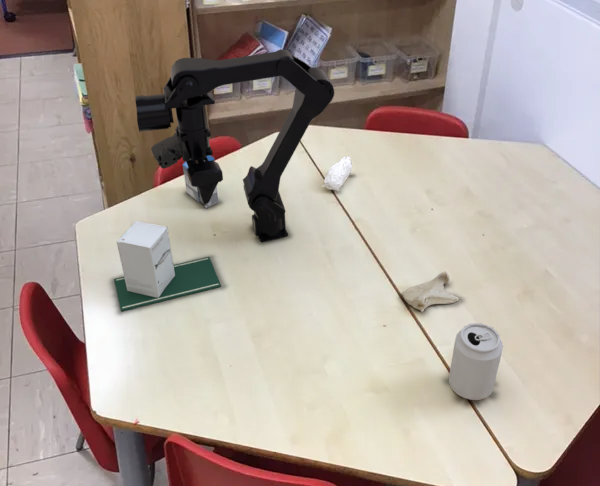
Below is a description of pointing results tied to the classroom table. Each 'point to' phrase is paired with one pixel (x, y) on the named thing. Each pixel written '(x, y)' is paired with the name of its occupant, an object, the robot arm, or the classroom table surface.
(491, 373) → the can
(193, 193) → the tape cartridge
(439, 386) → the classroom table surface
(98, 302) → the classroom table surface
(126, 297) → the green mat
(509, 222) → the classroom table surface
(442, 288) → the fossil
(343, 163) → the white crumpled lump
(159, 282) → the white packaging box
